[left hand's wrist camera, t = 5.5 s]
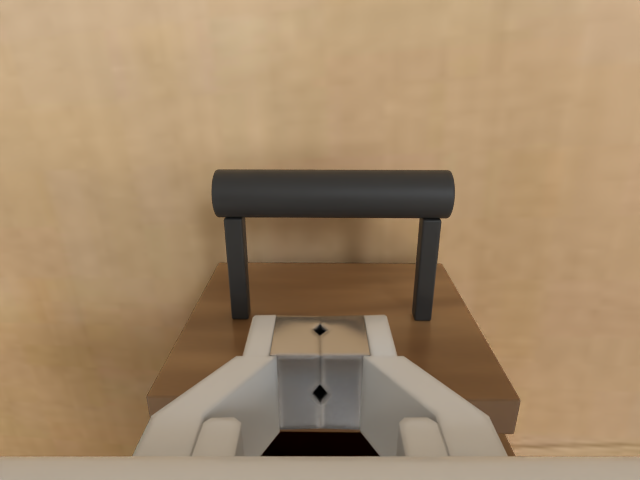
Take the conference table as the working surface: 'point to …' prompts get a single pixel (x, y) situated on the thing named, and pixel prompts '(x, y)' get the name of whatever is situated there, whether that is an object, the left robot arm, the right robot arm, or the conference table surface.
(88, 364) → the conference table surface
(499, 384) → the drawer
